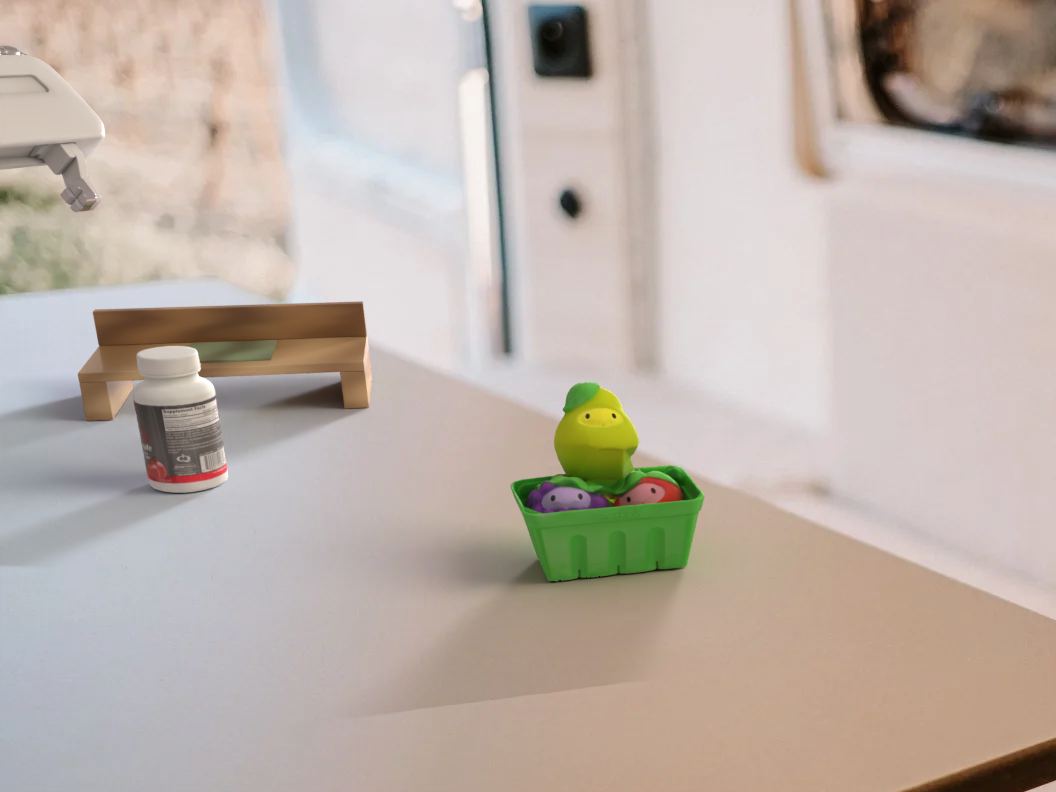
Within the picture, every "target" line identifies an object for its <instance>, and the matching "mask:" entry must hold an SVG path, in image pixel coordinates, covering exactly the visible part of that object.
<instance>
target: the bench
mask: <svg viewBox="0 0 1056 792" xmlns="http://www.w3.org/2000/svg"><path fill="white" fill-rule="evenodd" d="M92 317H93V322H94V327H95V332H96V338H97V344H98V347H97V348H96V349H95V351H93V353H92V354H91V356H90V357H89V358H88V360H87V361H86V362H85V363H84V365H83V366H82V367H81V369H80V370H79V371H78V372H77V378H78V383H79V388H80V394H81V400H82V404H83V410H84V415H85V420H86V422H93V421H95V422H96V421H113V420H114V419H115V417H116V416H117V414H118V413H119V411H120V409H121V408H122V406H123V405H124V403H125V401H126V400H127V398H128V397H129V396H130V394H131V392H132V390H134V382H135V381H144V376H142V375H141V374H140V371H138V365H137V358H136V355H137V353H138V352H140V351H142V350H145V349H150V348H156V347H165V346H184V347H191V348H194V349H196V350H197V352H198V356H199V361H200V364H201V366H200V368H201V370H200V371H199V372H198V375H199V377H203V378H205V379H207V378H227V377H252V376H253V377H254V376H279V375H298V374H299V375H300V374H301V375H303V374H324V373H325V374H326V373H339V375H340V383H341V391H342V399H343V406H344V409H365V408H367V409H368V408H370V403H371V402H370V401H371V393H370V392H371V391H372V383H371V381H372V382H373V372H372V364H371V354H370V347H369V339H368V337H369V336H368V329H367V322H366V321H367V320H366V313H365V304H364V301H362V300H361V301H334V302H300V303H299V302H298V303H295V302H294V303H267V304H264V303H263V304H234V305H233V304H231V305H230V304H229V305H202V306H201V305H198V306H196V305H195V306H166V307H165V306H163V307H133V308H132V307H129V308H102V309H101V308H99V309H94V310H93V311H92ZM133 381H134V382H133Z"/></svg>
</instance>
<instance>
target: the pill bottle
mask: <svg viewBox="0 0 1056 792" xmlns="http://www.w3.org/2000/svg"><path fill="white" fill-rule="evenodd" d="M136 358H137V365H138V371H140V374H141V375H142V376H144V380H141V381H140V382H139V383H137V384H136V386H134V387H133V391H132V399H133V406H134V411H135V415H136V421H137V427H138V431H139V432H138V433H139V436H140V437H139V438H140V442H141V448H142V454H143V460H144V465H145V470H146V476H147V481H148V483H149V486H150V487H151V488H152V489H154V490H157V491H160V492H165V493H177V494H178V493H179V494H181V493H183V494H184V493H185V494H186V493H194V492H195V493H196V492H200V491H204V490H205V491H207V490H210V489H212V488H216V487H218V486H221V485H222V484H224V483H226V481H228V478H229V471H228V463H227V456H226V450H225V444H224V439H223V432H222V425H221V419H220V412H219V405H218V400H217V394H216V388H215V386H214V384H213V383H212V382H211V381H210V380H209V379H207V378H203V377H199V375H198V372H199V371H200V370H201V368H200V366H201V364H200V361H199V356H198V352H197V350H196V349H194V348H191V347H184V346H165V347H156V348H150V349H145V350H142V351H140V352H138V353H137V355H136Z"/></svg>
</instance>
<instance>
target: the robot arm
mask: <svg viewBox="0 0 1056 792" xmlns="http://www.w3.org/2000/svg"><path fill="white" fill-rule="evenodd" d="M105 131H106V129H105V124H104V122H103V120H102V119H101V118H100V117H99V115H98V114H97V113H96V112H95V110H94V109H93V108H92V107H91V106H90V105H89V104H88V103H87V101H85V99H84V98H83V97H82V96H81V95H80V94H79V93H78V92H77V91H76V90H75V88H73V86H72V85H71V84H70V83H69V82H68V81H67V80H66V79H65V78H64V77H63V76H62V75H61V74H60V73H58V71H57V70H55V68H53V67H52V66H51V65H49V64H48V63H47V62H45V61H44V60H42V59H40V58H38V57H35V56H33V55H28V54H26V53H23V52H21V51H19V50H18V48H16V47H15V46H11V45H0V171H2V170H14V169H23V168H35V167H45V166H47V167H48V168H49V170H51V172H52V173H53V174H54V175H55V176H59V175H60V176H62V179H63V182H64V186H65V188H64V190H63V191H62V192H61V193H60V194H59V195H60V197H61V198H62V199H63V201H64V202H65V203H66V204H68V205H69V209H70V210H71V211H72V212H73V213H82V212H90V211H94V210H95V209H96V208H97V206H98V205H99V204H100V203H101V202H102V195H101V193H100V192H99V191H98V189H97V188H96V187H95V185H94V184H93V183H92V182H91V180H90V179H89V178H90V177H89V172H88V171H89V170H88V166H87V162H86V161H87V159H88V158H89V157H90V156H92V154H93V153H94V152H95V151H96V150H97V149H98V147H99V146H100V144H101V143H102V142H103V141H104V139H105V137H106V132H105Z"/></svg>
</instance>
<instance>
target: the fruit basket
mask: <svg viewBox="0 0 1056 792" xmlns="http://www.w3.org/2000/svg"><path fill="white" fill-rule="evenodd" d="M562 411H563V413H564V414H563V417H562V418H561V420H560V421H559V422H558V425H557V427H556V429H555V433H554V439H553V446H554V450H555V453H556V457H557V459H558V462H559V463H560V465H561V468H562V470H563V472H564V473H557V474H554V475H546V476H539V477H530V478H523V479H518V480H515V481H513V482H512V483H510V490H511V492H512V495H513V498H514V500H515V502H516V504H517V507H518V508H519V510H520V513H521V515H522V517H523V521H524V523H525V526H526V529H527V531H528V534H529V537H530V541H531V543H532V546H533V549H534V552H535V554H536V557H537V559H538V561H539V564H540V566H541V569H542V571H543V573H544V574H545V578H546V580H547V581H548V582H550V581H555V582H562V581H572V580H577V579H579V578H581V579H583V578H584V579H590V577H591V578H599V576H600V577H607V576H613V575H617V574H636V573H645V572H651V571H655V570H670V569H681V568H686V567H687V566H688V562H689V557H690V553H691V549H692V544H693V540H694V535H695V531H696V526H697V522H698V517H699V513H700V511H701V510H702V508H703V504H704V500H705V496H706V495H705V493H704V492H703V491H702V489H701V488H700V487H699V486H698V485H697V483H696V482H695V481H694V480H693V478H692V477H691V475H690V474H689V473H688V472H687V471H686V469H685V468H684V467H682V466H679V465H657V466H643V467H634V464H633V461H632V459H631V457H632V456H633V455H634V454H635V453H636V451H637V449H638V446H639V445H640V438H639V434H638V432H637V431H638V430H637V428H636V427H635V425H634V423H633V422H632V420H631V418H629V416H628V415H627V414H626V412H625V410H624V408H623V404H622V402H621V401H620V399H619V398H618V397H617V395H616V394H615V393H613V392H612V391H611V390H609V389H607V388H604V387H602V386H601V385H600V384H599V383H598V382H591V381H585V382H577V383H576V384H575V383H574V385H572V386H571V388H570V389H569V390H568V392H567V393H566V397H565V403H564V406H563V408H562ZM578 577H579V578H578ZM586 577H587V578H586ZM559 580H561V581H559Z"/></svg>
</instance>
